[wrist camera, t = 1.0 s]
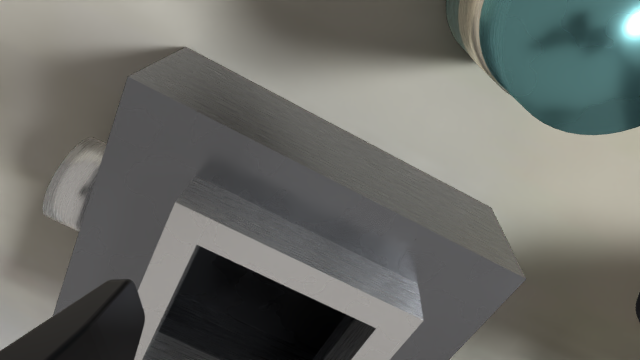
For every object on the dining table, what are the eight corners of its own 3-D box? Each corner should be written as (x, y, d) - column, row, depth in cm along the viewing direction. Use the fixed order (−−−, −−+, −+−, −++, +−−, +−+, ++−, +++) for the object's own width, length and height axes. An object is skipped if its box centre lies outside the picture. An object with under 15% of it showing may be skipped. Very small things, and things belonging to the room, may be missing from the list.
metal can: (610, -32, 17) (804, -21, 10) (522, 85, 19) (623, 170, 12) (497, -104, 16) (610, -153, 9) (419, 26, 19) (456, 76, 11)
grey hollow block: (491, 207, 22) (544, 316, 15) (350, 378, 28) (345, 508, 21) (142, 24, 20) (29, 59, 13) (71, 253, 26) (-31, 357, 19)
